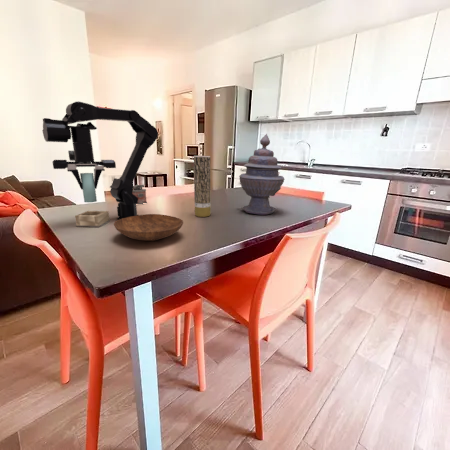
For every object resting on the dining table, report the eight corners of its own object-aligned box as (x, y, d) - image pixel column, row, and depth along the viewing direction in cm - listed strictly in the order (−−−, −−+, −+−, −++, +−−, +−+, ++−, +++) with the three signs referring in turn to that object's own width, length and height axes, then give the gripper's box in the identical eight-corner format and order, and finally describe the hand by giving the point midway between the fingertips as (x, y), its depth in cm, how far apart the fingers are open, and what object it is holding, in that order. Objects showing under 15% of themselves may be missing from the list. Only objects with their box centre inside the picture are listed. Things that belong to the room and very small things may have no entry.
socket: (109, 221, 95) (108, 211, 93) (99, 227, 87) (97, 216, 86) (89, 220, 95) (87, 210, 93) (76, 226, 87) (75, 216, 86)
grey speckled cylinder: (211, 213, 109) (211, 155, 102) (209, 217, 102) (209, 155, 95) (196, 213, 109) (195, 155, 102) (193, 217, 103) (191, 155, 96)
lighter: (134, 205, 123) (133, 185, 120) (131, 204, 125) (129, 185, 122) (148, 203, 129) (146, 184, 127) (144, 202, 131) (143, 183, 128)
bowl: (155, 224, 92) (154, 211, 91) (196, 236, 79) (196, 221, 77) (103, 236, 77) (101, 221, 76) (142, 254, 64) (141, 236, 63)
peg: (98, 200, 90) (95, 173, 88) (93, 202, 87) (89, 173, 84) (88, 200, 91) (84, 172, 88) (81, 202, 87) (77, 173, 84)
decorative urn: (226, 209, 115) (234, 130, 105) (254, 206, 128) (264, 136, 119) (259, 220, 101) (272, 130, 91) (287, 215, 114) (301, 137, 105)
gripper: (108, 144, 94) (112, 185, 99) (49, 142, 84) (57, 187, 89) (113, 143, 85) (118, 188, 90) (48, 141, 76) (57, 191, 80)
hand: (88, 188), depth 87 cm, fingers closed on peg, 4 cm apart
